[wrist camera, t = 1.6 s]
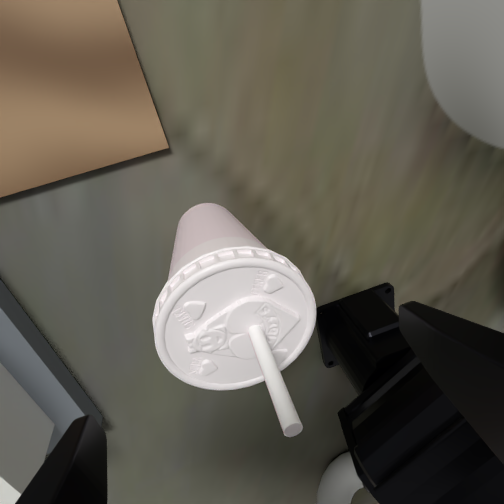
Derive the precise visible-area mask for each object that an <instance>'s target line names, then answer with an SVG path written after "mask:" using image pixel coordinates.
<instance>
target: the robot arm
mask: <svg viewBox="0 0 504 504" xmlns="http://www.w3.org/2000/svg"><path fill="white" fill-rule="evenodd" d="M386 289H387V290H386ZM385 290H386V291H385ZM321 312H323V313H322V314H320V313H321ZM316 325H317V330H318V335H319V341H320V346H321V352H322V357H323V362H324V364H325V366H326V367H327V368H331V367H334V366H336V365H340V366H341V368H342V369H343V371H344V373H345V374H346V376H347V377H348V379H349V381H350V382H351V384H352V385H353V387H354V388H355V390H356V392H357V393H358V395H359V396H358V397H357V398H355V399H354V400H353V401H352V402H351V403H350V404H349V405H348V406H347V407H345V408H344V407H343V408H342V409H341V410H340V411H339V412H338V416H339V419H340V422H341V427H342V430H343V433H344V436H345V439H346V442H347V445H348V449H349V452H350V455H351V458H352V461H353V464H354V467H355V470H356V473H357V476H358V477H359V479H360V480H361V481H362V484H363V486H364V488H365V489H366V491H367V492H369V493H371V494H372V495H373V497H374V498H375V499H376V500H377V501H378V502H379V503H380V504H504V333H502V332H499V331H496V330H493V329H491V328H488V327H485V326H482V325H479V324H477V323H474V322H471V321H468V320H466V319H463V318H460V317H457V316H454V315H452V314H449V313H446V312H443V311H441V310H438V309H435V308H432V307H429V306H427V305H424V304H421V303H418V302H415V301H410V302H407V303H404V304H401V305H400V306H399V315H398V314H397V313H396V312H395V310H394V287H393V286H392V285H391V284H390V283H384V284H381V285H378V286H375V287H372V288H370V289H367V290H364V291H361V292H359V293H356V294H353V295H350V296H347V297H345V298H342V299H339V300H336V301H333V302H331V303H328V304H325V305H322V306H320V307H318V308H317V309H316ZM15 504H107V439H106V434H105V432H104V430H103V429H102V427H101V426H100V425H99V423H98V422H97V420H96V419H95V418H94V416H93V415H91V414H88V415H85V416H82V417H79V418H77V419H75V420H74V421H73V422H72V423H71V424H70V426H69V427H68V429H67V430H66V432H65V433H64V434H63V436H62V437H61V439H60V440H59V442H58V443H57V444H56V446H55V447H54V449H53V450H52V451H51V453H50V454H49V456H48V457H47V459H46V460H45V461H44V463H43V464H42V466H41V467H40V469H39V470H38V471H37V473H36V474H35V476H34V477H33V479H32V480H31V481H30V483H29V484H28V486H27V487H26V488H25V490H24V491H23V493H22V494H21V496H20V497H19V498H18V500H17V501H16V503H15Z"/></svg>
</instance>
